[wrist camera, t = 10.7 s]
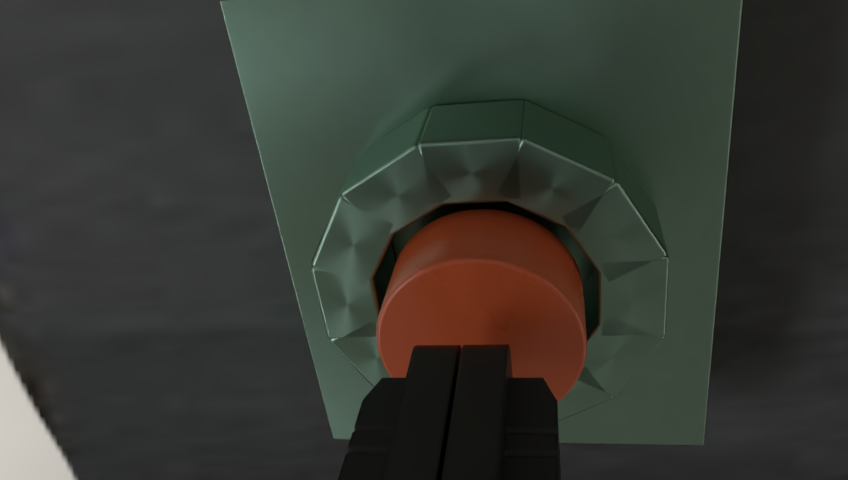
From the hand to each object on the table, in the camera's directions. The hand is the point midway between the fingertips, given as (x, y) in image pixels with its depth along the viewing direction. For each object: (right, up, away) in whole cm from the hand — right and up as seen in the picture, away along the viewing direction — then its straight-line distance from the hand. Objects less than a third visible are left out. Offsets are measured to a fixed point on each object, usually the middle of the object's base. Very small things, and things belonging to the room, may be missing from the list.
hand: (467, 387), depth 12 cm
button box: (+1, +3, +5) cm, 6 cm away
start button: (0, +1, +2) cm, 3 cm away
